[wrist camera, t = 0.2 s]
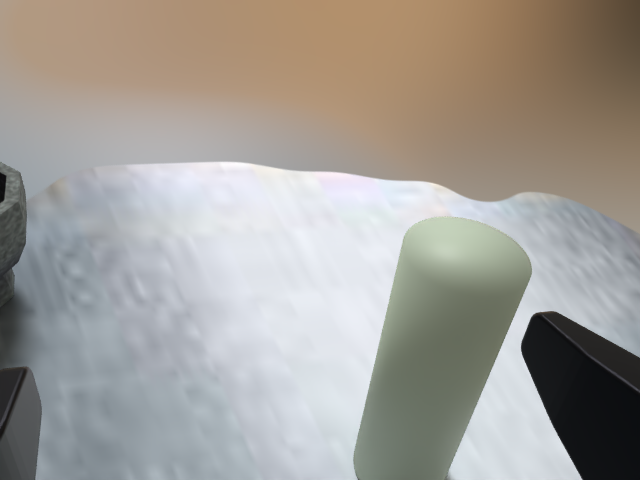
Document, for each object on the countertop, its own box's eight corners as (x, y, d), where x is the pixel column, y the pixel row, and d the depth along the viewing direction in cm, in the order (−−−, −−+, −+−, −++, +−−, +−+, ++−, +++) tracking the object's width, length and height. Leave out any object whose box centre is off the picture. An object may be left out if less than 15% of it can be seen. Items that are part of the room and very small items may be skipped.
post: (459, 498, 26) (557, 290, 18) (369, 517, 25) (433, 303, 17) (422, 418, 29) (492, 213, 21) (342, 431, 28) (385, 220, 20)
